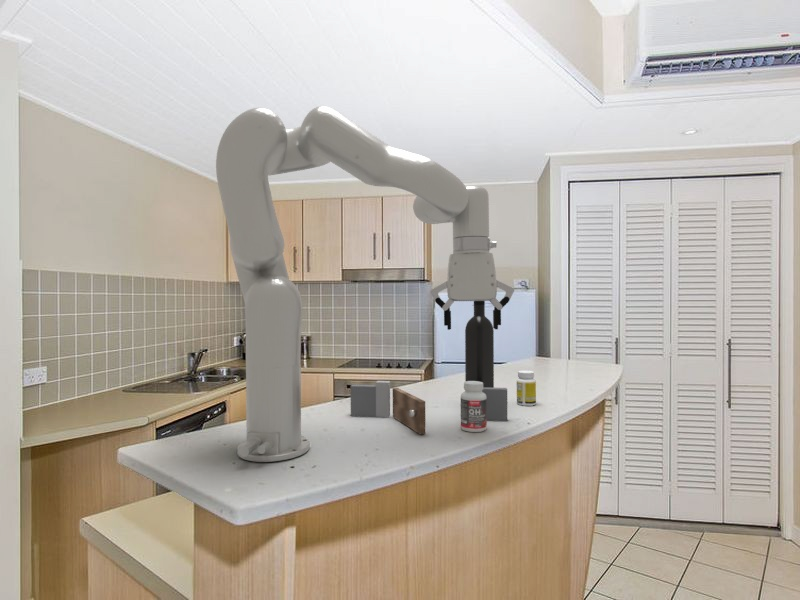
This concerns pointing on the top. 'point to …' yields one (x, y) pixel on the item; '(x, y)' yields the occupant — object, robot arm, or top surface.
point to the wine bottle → (479, 347)
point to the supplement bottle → (526, 388)
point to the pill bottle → (473, 407)
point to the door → (409, 410)
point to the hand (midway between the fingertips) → (472, 329)
